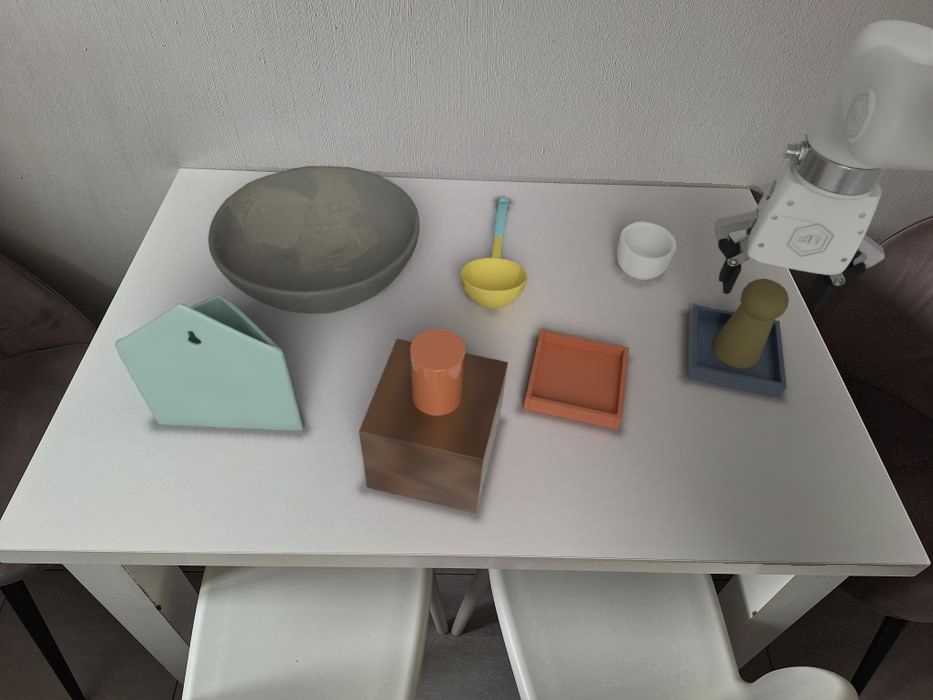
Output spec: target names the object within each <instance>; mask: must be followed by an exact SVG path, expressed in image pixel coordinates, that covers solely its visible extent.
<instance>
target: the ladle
mask: <svg viewBox="0 0 933 700" xmlns="http://www.w3.org/2000/svg"><path fill="white" fill-rule="evenodd" d="M509 201H510V199H509V198H508V197H505V196H501V197H499V198H498V202H497V208H496V214H495V223H494V230H493V242H492V250H491V257H482V258H477V259H473V260H472V261H469V262H467V263H466V264H465V265H463V266H462V268H461V270H460V273H459V275H460V281H461V287H462V288H463V290H464V292H465V294H466V295H467V296H468V298H469V299H470V300H472V301H473V302H475V304H477V305H479V306H481V307H484V308H489V309H500V308H503V307H504V308H505V307H506V306H508V305H510V304H512V303H514V302H515V301H516V300H517V299H518V298H519V297H520V296H521V294H523V292H524V289H525V288H526V284H527V280H528V273H527V271H526V269H524V267H523V266H522V265H520V264H518V263H516V262H515V261H511V260H509V259H505V258H501V253H502V245H503V239H504V234H505V227H506V220H507V215H508V208H509Z"/></svg>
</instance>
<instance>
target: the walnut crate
mask: <svg viewBox="0 0 933 700" xmlns="http://www.w3.org/2000/svg"><path fill="white" fill-rule="evenodd" d="M411 344H412V341H410V340H405V339H401V338H396V340H395V341H394V344H393V347H392V349H391V352H390V354H389V356H388V359H387V361H386V363H385V366H384V368H383V372H382V373H381V376H380V379H379V381H378V383H377V386H376V388H375V391H374V393H373V395H372V398H371V401H370V403H369V405H368V407H367V411H366V412H365V414H364V415H365V416H364V418H363V420H362V423H361V425H360V427H359V430H358V434H359V440H360V447H361V455H362V462H363V469H364V477H365V483H366V487H367V489H372V490H377V491H380V492H383V493H384V492H385V493H389V494H393V495H397V496H400V497H401V496H402V497H404V498H410V499H414V500H418V501H422V502H426V503H431V504H434V505H439V506H443V507H447V508H452V509H455V510H460V511H463V512H468V513H472V514H477V513H478V510H479V506H480V502H481V501H480V500H481V497H482V493H483V489H484V485H485V480H486V478H487V473H488V468H489V465H490V461H491V456H492V452H493V448H494V444H495V440H496V435H497V433H498V428H499V424H500V418H501V412H502V405H503V398H504V393H505V384H506V378H507V374H508V373H507V372H508V366H509V362H508V361H504V360H501V359H496V358H491V357H486V356H481V355H476V354H471V353H468V352H465V366H464V380H463V394H462V400H461V403H460V405H459V406H458V407H457V408H456V409H455V410H454V411H452V412H451V413H448V414H445V415H440V416H434V415H429V414H426V413H424V412H422V411H420V410H419V409H418V408H417V407H416V406H415V404H414V403H413V400H412V392H411V360H410V347H411Z"/></svg>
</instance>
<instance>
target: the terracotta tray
mask: <svg viewBox="0 0 933 700" xmlns="http://www.w3.org/2000/svg"><path fill="white" fill-rule="evenodd" d="M629 351H630V347H629V346H623V345H618V344H614V343H608V342H603V341H598V340H593V339H589V338H584V337H580V336H575V335H569V334H565V333H560V332H555V331H550V330H544V329H540V330H539V336H538V339H537V344H536V348H535V353H534V357H533V362H532V367H531V371H530V376H529V380H528V385H527V388H526V392H525V398H524V403H523V407H522V408H523V410H525V411H529V412H535V413H539V414H544V415H548V416H554V417H558V418H562V419H566V420H572V421H576V422H580V423H585V424H590V425H594V426H598V427H604V428H607V429H613V430H619V428H620V425H621V423H622V420H623V412H624V402H625V394H626V393H625V392H626V381H627V374H628V373H627V370H628V361H629V353H630V352H629Z"/></svg>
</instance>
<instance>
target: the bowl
mask: <svg viewBox="0 0 933 700" xmlns="http://www.w3.org/2000/svg"><path fill="white" fill-rule="evenodd" d="M420 223H421V221H420V214H419V211H418V208H417V206H416V204H415V202H414V200H413V199H412V198H411V196H410V195H409V194H408V193H407V192H406V191H405V190H404V189H402V188H401V187H400V186H399V185H398V184H395V183H394V182H392V181H390V180H389V179H387V178H385V177H383V176H381V175H378V174H376V173H372V172H370V171H368V170H367V171H366V170H364V169H360V168H355V167H350V166H335V165H334V166H333V165H307V166H300V167H295V168H291V169H287V170H282V171H279V172H275V173H271V174H269V175H264V176H262V177H260V178H257V179H254V180H252V181H249V182H247V183H245V184H244V185H243V186H242V187H240V188H239V189H238V190H236V191H235V192H233V193H232V194H231V195H229V196H228V197H227V198H225V200H224V201H223V203H222V204H220V206H219V208H218V209H217V210H216V213H215V214H214V215H213V218H212V220H211V222H210V226H209V229H208V230H209V231H208V236H207V239H208V241H207V242H208V249H209V253H210V257H211V258H212V261H213V263H214V264H215V266H216V267H217V269H218V270H219V272H220V273H221V274H222V275H223V277H224V278H225V279H227V280H228V282H230V283H231V285H233V286H234V287H235V288H236V289H238V290H239V291H241V293H244V294H246V295H247V296H249V297H251V298H252V299H254V300H256V301H259V302H261V303H262V304H265V305H267V306H269V307H272V308H276V309H279V310H283V311H286V312H291V313H298V314H329V313H335V312H340V311H343V310H346V309H349V308H352V307H355V306H357V305H359V304H361V303H364V302H365V301H366V302H367V301H368V300H370V299H372V298H373V297H375V296H377V295H378V294H380V293H381V292H382V291H384V290H385V289H387V288H388V287H389V286H390V285H391V284H392V283H393V282H394V281H395V280H396V279H397V278H398V276H399V275H400V274H401V273H402V272H403V270H404V269H405V267H406V266H407V264H408V263H409V261H410V260H411V258H412V256H413V254H414V252H415V250H416V246H417V244H418V240H419V236H420V227H421V225H420Z"/></svg>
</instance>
